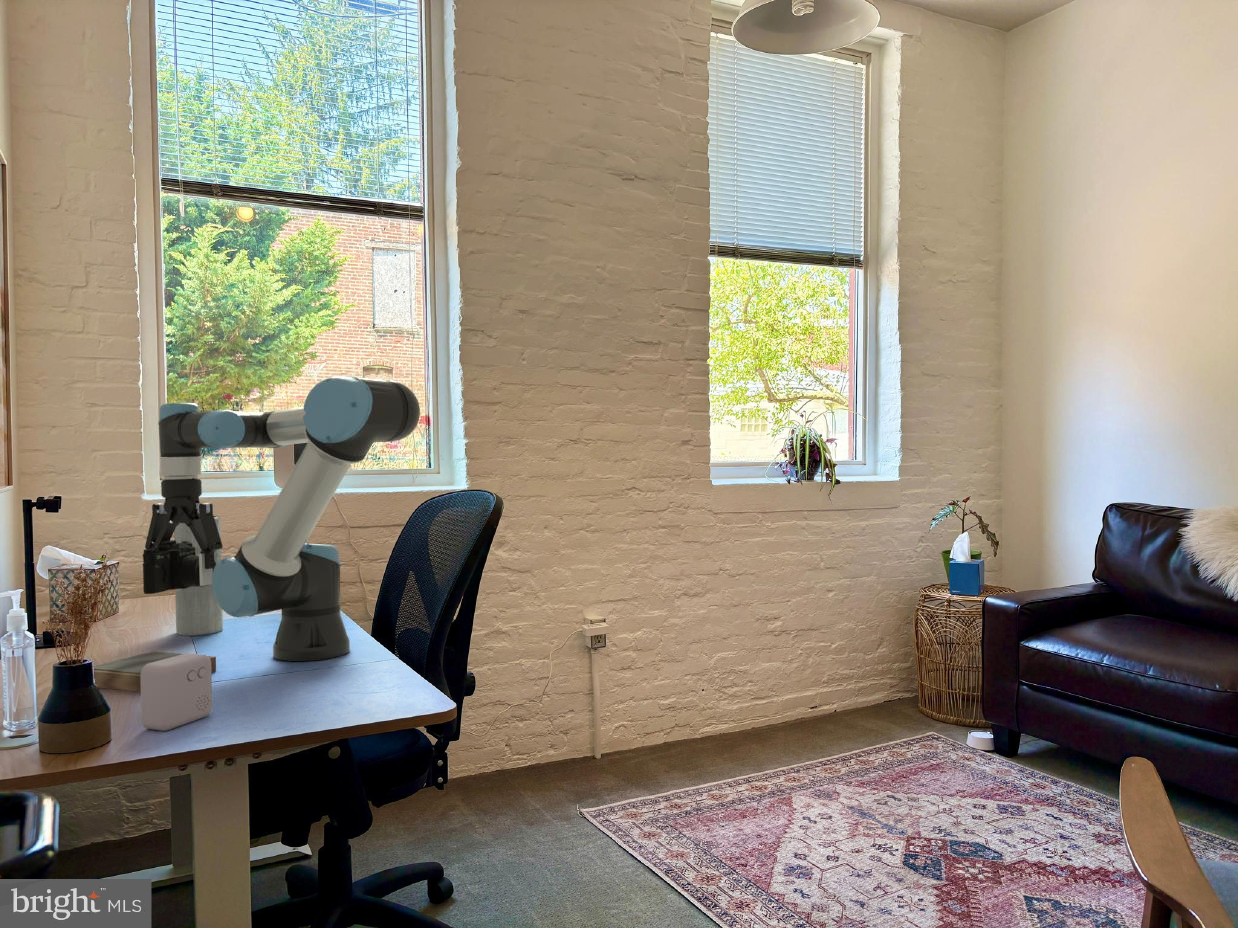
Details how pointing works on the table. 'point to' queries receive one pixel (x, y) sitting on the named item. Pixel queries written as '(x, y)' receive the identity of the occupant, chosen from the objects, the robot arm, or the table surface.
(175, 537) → the vase
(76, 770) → the table surface
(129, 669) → the stand
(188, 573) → the camera
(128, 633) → the table surface
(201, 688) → the electronic device
